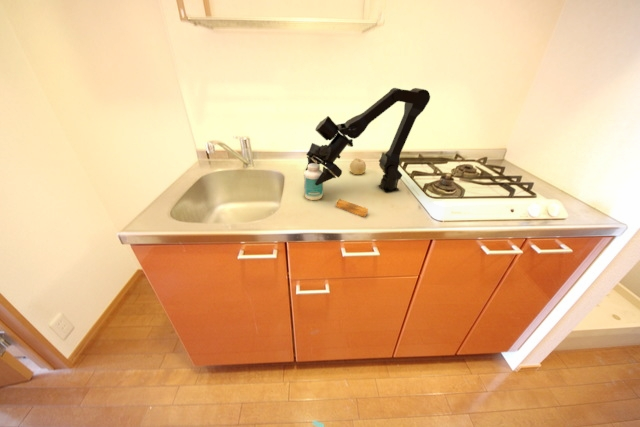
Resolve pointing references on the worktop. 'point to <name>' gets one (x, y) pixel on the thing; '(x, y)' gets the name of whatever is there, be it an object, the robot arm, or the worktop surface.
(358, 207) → the fry stick
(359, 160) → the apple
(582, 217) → the worktop surface
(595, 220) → the worktop surface
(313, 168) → the pill bottle
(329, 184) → the worktop surface
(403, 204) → the worktop surface
